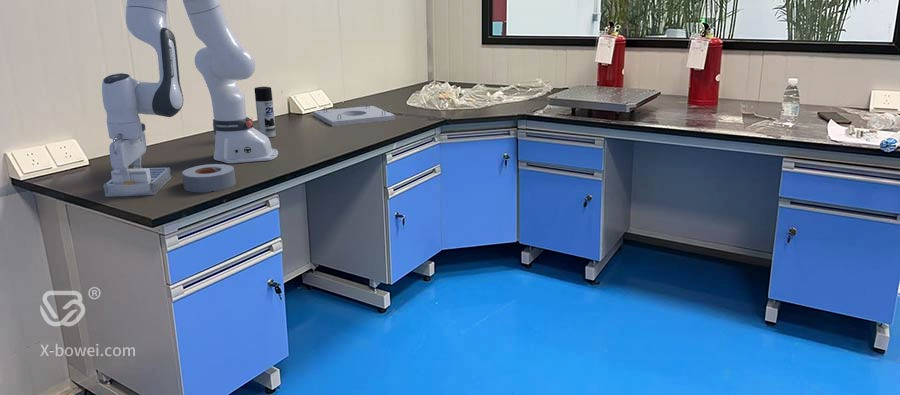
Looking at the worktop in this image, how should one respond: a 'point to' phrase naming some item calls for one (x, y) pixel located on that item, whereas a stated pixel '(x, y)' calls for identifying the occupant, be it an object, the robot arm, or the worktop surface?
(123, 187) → the rack
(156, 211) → the worktop surface
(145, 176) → the panel
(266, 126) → the spray can
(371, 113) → the mounting panel
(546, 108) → the worktop surface
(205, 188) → the tape roll
